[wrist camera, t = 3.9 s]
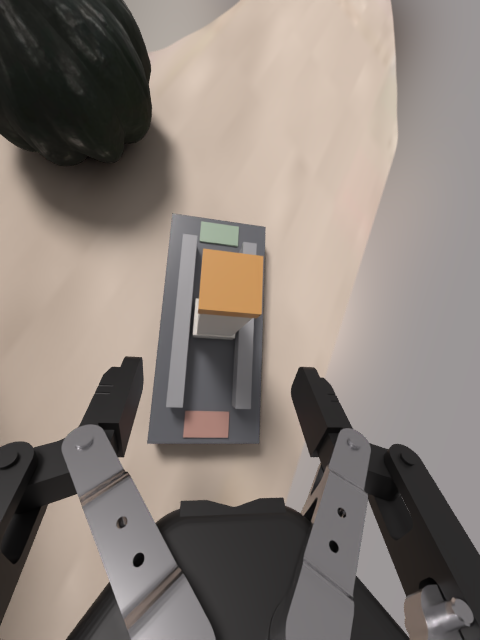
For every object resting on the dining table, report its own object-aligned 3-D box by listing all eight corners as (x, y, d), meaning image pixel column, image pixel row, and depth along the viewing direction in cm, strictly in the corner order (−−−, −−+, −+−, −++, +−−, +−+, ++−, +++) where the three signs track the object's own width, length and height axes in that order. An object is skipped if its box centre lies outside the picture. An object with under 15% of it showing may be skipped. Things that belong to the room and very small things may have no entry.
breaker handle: (232, 340, 23) (265, 314, 12) (192, 337, 22) (193, 308, 12) (233, 306, 23) (267, 256, 13) (195, 303, 23) (198, 247, 12)
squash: (147, -8, 25) (-110, -340, 12) (205, 128, 24) (-4, -65, 11) (72, 104, 31) (-146, -27, 18) (115, 214, 30) (-83, 161, 17)
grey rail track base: (252, 436, 24) (265, 450, 20) (151, 435, 23) (142, 451, 18) (259, 239, 28) (271, 215, 24) (174, 227, 27) (170, 199, 22)
